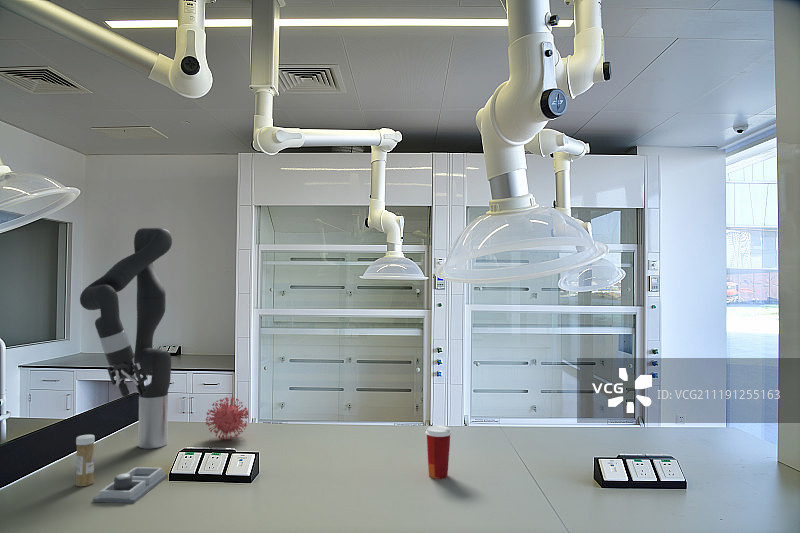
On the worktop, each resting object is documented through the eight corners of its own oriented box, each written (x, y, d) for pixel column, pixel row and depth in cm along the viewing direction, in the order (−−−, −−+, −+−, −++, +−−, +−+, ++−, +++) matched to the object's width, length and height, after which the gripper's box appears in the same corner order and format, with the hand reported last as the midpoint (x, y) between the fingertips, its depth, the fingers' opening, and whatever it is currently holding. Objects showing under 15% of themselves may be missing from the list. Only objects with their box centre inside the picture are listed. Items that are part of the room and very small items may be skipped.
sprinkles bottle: (94, 485, 161) (95, 437, 161) (76, 488, 158) (76, 439, 158) (92, 480, 165) (93, 433, 165) (74, 483, 162) (75, 435, 162)
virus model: (207, 434, 212) (207, 394, 212) (248, 432, 215) (249, 392, 216) (203, 446, 198) (204, 403, 198) (247, 443, 201) (248, 401, 201)
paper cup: (454, 473, 173) (454, 427, 173) (445, 481, 166) (446, 433, 166) (430, 469, 176) (430, 424, 176) (420, 477, 169) (421, 430, 169)
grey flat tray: (130, 475, 168) (130, 457, 168) (167, 476, 168) (167, 458, 168) (92, 501, 149) (93, 481, 149) (134, 502, 149) (134, 482, 149)
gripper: (141, 341, 176) (159, 388, 179) (113, 344, 183) (130, 390, 186) (121, 350, 170) (139, 400, 173) (92, 353, 177) (110, 401, 180)
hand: (134, 395), depth 180 cm, fingers open, 8 cm apart
